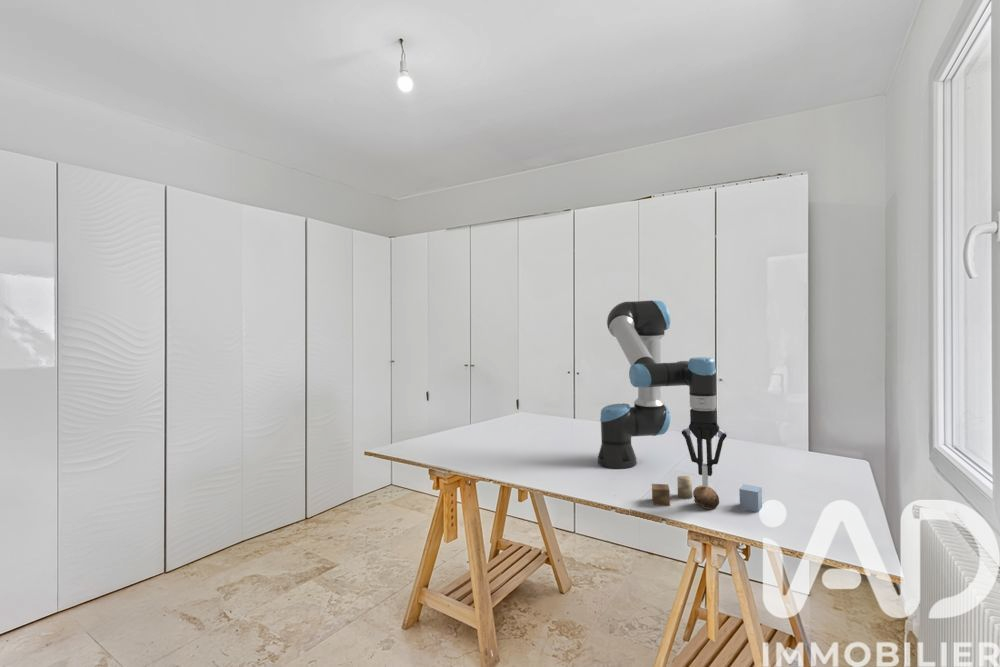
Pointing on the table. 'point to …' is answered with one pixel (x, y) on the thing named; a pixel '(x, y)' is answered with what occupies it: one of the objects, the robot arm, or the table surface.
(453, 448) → the table surface
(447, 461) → the table surface
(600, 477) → the table surface
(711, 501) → the mushroom
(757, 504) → the slate block
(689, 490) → the birch cylinder
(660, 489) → the walnut block
